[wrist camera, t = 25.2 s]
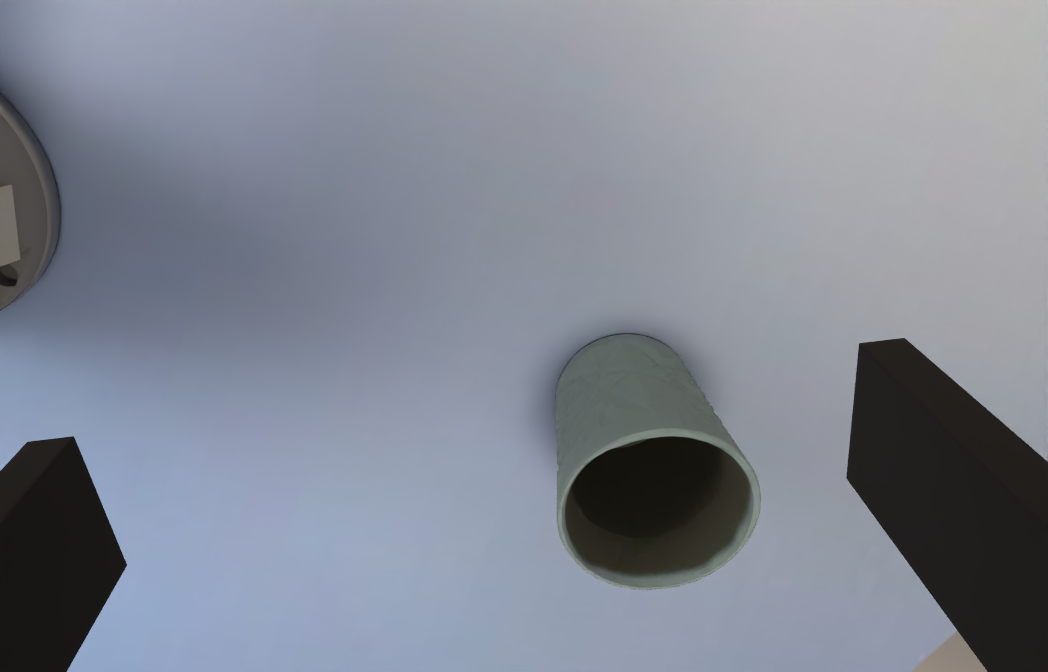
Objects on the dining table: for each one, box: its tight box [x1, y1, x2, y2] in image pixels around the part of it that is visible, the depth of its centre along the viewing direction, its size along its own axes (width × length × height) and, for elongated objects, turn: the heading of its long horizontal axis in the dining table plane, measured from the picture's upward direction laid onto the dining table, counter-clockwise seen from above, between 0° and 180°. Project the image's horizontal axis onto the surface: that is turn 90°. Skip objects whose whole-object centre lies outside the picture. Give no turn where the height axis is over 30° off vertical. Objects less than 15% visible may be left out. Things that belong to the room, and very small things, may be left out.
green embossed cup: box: [556, 334, 761, 590], centre depth 44 cm, size 10×10×12 cm
